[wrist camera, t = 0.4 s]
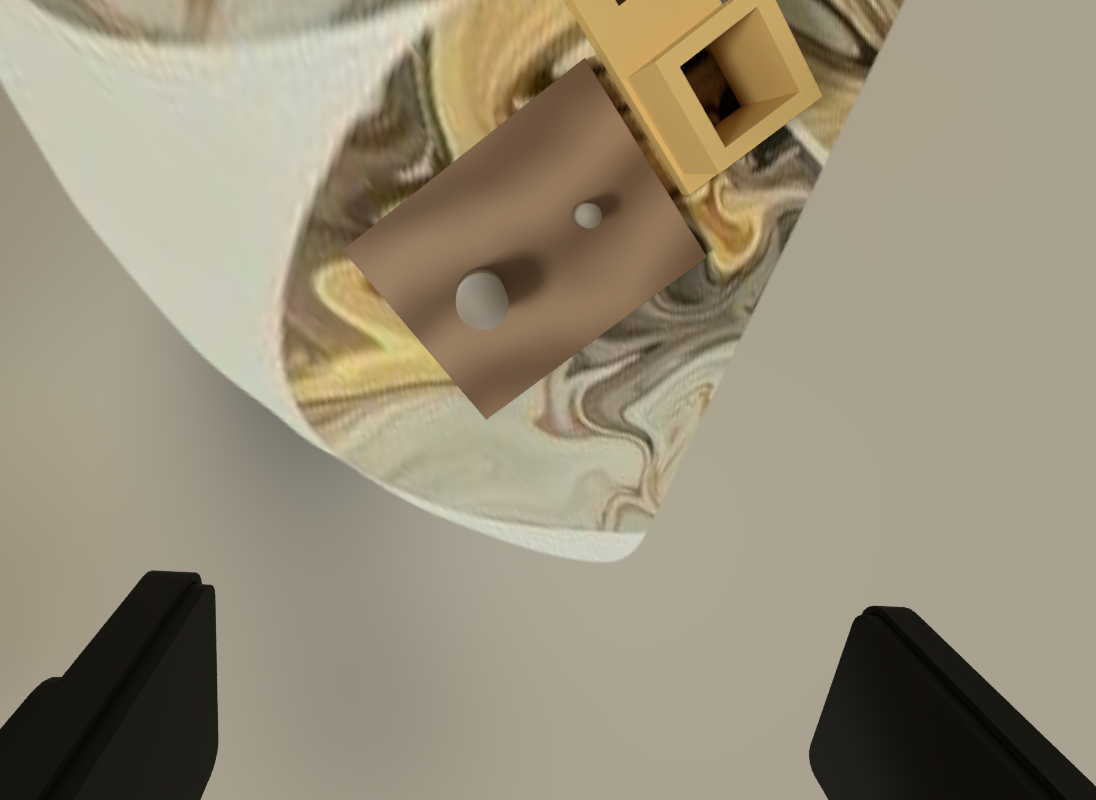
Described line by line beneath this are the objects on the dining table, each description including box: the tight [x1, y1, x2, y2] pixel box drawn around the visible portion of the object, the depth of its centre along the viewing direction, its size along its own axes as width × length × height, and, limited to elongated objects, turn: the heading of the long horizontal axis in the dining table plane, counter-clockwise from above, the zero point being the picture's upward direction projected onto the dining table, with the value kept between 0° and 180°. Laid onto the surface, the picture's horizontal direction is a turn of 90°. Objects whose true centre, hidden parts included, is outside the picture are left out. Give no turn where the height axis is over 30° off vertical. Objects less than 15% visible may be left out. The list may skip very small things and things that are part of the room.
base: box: [343, 58, 707, 419], centre depth 39 cm, size 14×18×5 cm
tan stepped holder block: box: [564, 0, 822, 195], centre depth 35 cm, size 16×7×8 cm, turn 36°
